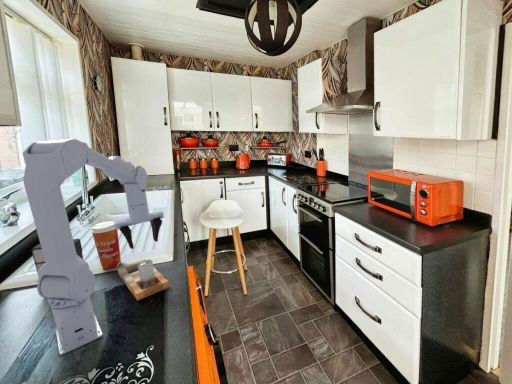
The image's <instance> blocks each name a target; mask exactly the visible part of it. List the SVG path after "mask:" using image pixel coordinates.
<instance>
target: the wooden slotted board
mask: <svg viewBox="0 0 512 384" xmlns="http://www.w3.org/2000/svg"><path fill="white" fill-rule="evenodd" d="M144 260H147V259H142V260H139V261H136V262H133V263H130V264H126V265H124V266H121V267H119V268H117V267H116V269H117V274H118V276H119V277H120V278H121V280H122V281H123V282H124V284H125V285H126V288H128V290H129V291H130V292H131V294H132V295H133V297H134V298H135V299H136V301H137V302H138V301H140V300H142V299H145V298H147V297H150V296H152V295H155V294H157V293H158V292H161V291H164V290H166V289H169V288H170V284H169V283H170V282H169V279H167V278H166V277H165V276H163V274H162V273H160V271H158V270H157V268H155V267H154V266H153V268H154V275H155V281H156V284H154V285H151V286H149V287H146V288H144V289H142V288H141V282H140V276H139V271H138V263H139V262H141V261H144Z"/></svg>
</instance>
